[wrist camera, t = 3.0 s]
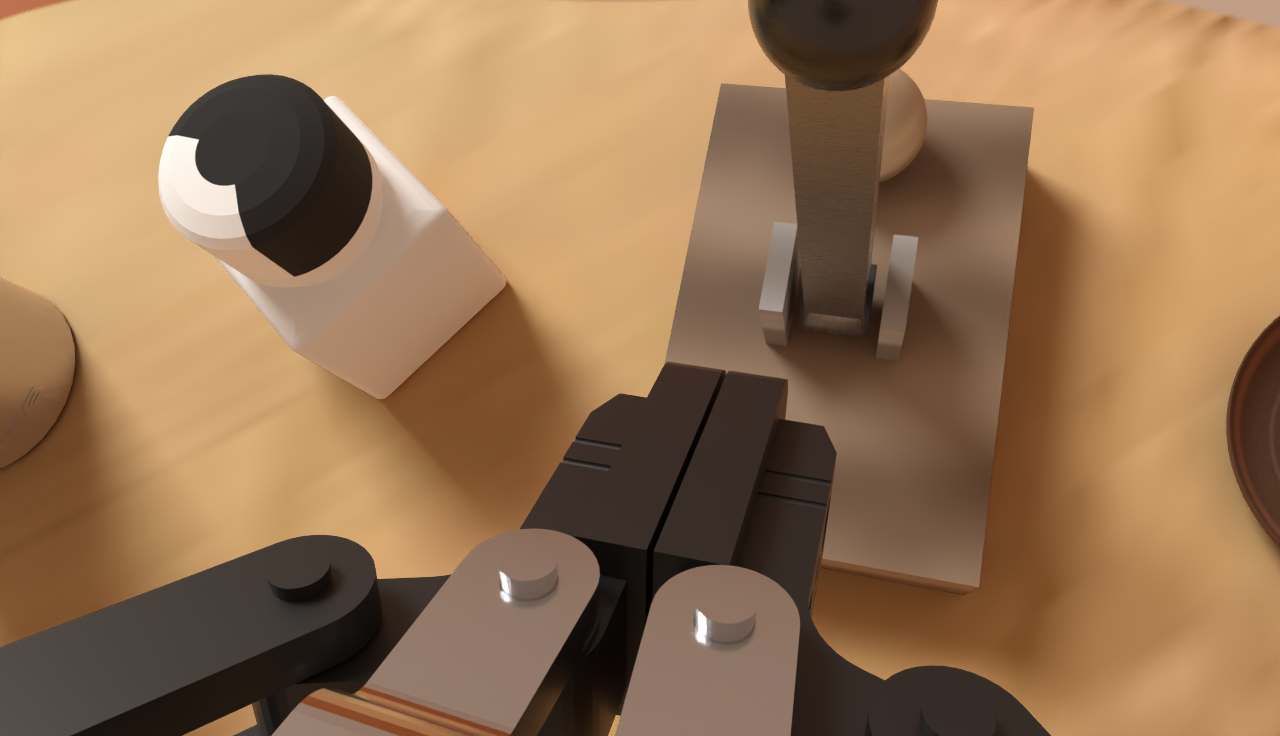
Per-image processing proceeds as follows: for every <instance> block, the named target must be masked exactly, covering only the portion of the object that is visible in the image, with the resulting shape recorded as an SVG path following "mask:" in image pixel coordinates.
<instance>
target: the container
mask: <svg viewBox="0 0 1280 736" xmlns="http://www.w3.org/2000/svg"><path fill="white" fill-rule="evenodd" d="M159 194H160V200H161V203H162V206H163V209H164V211H165V213H166V215H167V217H168V219H169V221H170V222H171V223H172V225H173V226H174V227H175V228H176V229H177V230H178V231H179V232H180V233H181V234H182V235H183V236H185V237H186V238H188V239H189V240H191V241H192V242H194V243H195V244H197V245H198V246H200V247H201V248H203V249H204V250H206V251H208V252H209V253H211V254H212V255H214V256H215V258H216V259H217V260H218V261H219V262H220V264H221V265H222V266H223V267H224V269H225V270H226V271H227V272H228V273H229V275H230V276H231V277H232V278H233V279H234V281H235V282H236V283H237V284H238V285H239V287H240V288H241V289H242V290H243V291H244V293H245V294H246V295H247V296H248V297H249V299H250V300H251V301H252V302H253V304H254V305H255V306H256V307H257V308H258V310H259V311H260V312H261V313H262V314H263V316H264V317H265V318H266V319H267V320H268V322H269V323H270V324H271V325H272V326H273V328H274V329H275V330H276V331H277V333H278V334H279V335H280V336H281V337H282V339H283V340H284V341H285V342H286V343H287V345H288V346H289V347H290V348H291V349H292V350H293V351H294V352H296V353H298V354H299V355H301V356H303V357H305V358H306V359H308V360H310V361H312V362H313V363H315V364H317V365H319V366H321V367H322V368H324V369H326V370H328V371H329V372H331V373H333V374H335V375H336V376H338V377H340V378H342V379H343V380H345V381H347V382H349V383H350V384H352V385H354V386H356V387H357V388H359V389H361V390H363V391H364V392H366V393H368V394H370V395H371V396H373V397H375V398H377V399H385V398H386V397H388V396H389V395H390V394H391V393H392V392H393V391H394V390H395V389H396V388H397V387H399V386H400V385H401V384H402V383H403V382H404V381H405V380H406V379H407V378H408V377H409V376H410V375H411V374H412V373H414V372H415V371H416V370H417V369H418V368H419V367H420V366H421V365H422V364H423V363H424V362H425V361H426V360H427V359H429V358H430V357H431V356H432V355H433V354H434V353H435V352H436V351H437V350H438V349H439V348H440V347H441V346H442V345H444V344H445V343H446V342H447V341H448V340H449V339H450V338H451V337H452V336H453V335H454V334H455V333H456V332H457V331H459V330H460V329H461V328H462V327H463V326H464V325H465V324H466V323H467V322H468V321H469V320H470V319H471V318H472V317H474V316H475V315H476V314H477V313H478V312H479V311H480V310H481V309H482V308H483V307H484V306H485V305H486V304H487V303H489V302H490V301H491V300H492V299H493V298H494V297H495V296H496V295H497V294H498V293H499V292H500V291H501V290H502V289H504V287H505V286H506V278H505V276H504V275H503V273H502V272H501V271H500V270H499V269H498V268H497V266H496V265H495V264H494V263H493V262H492V261H491V259H490V258H489V257H488V256H487V255H486V254H485V253H484V251H483V250H482V249H481V248H480V247H479V246H478V244H477V243H476V242H475V241H474V240H473V239H472V237H471V236H470V235H469V234H468V233H467V232H466V230H465V229H464V228H463V227H462V226H461V225H460V223H459V222H458V221H457V220H456V219H455V218H454V216H453V215H452V214H451V213H450V212H449V211H448V209H447V208H446V207H445V206H444V205H443V204H442V203H441V202H440V201H439V200H438V199H437V198H436V197H435V196H434V195H433V194H432V193H431V192H430V191H429V190H428V189H427V188H426V187H425V186H424V185H423V184H422V183H421V182H420V180H419V179H418V178H417V177H416V176H415V175H414V174H413V173H412V172H411V171H410V170H409V169H408V168H407V167H406V166H405V165H404V164H403V163H402V162H401V161H400V160H399V159H398V158H397V157H396V156H395V155H394V154H393V153H392V152H391V151H390V150H389V149H388V148H387V147H386V146H385V144H384V143H383V142H382V141H381V140H380V139H379V138H378V137H377V136H376V135H375V134H374V133H373V132H372V131H371V130H370V129H369V128H368V127H367V126H366V125H365V124H364V123H363V122H362V121H361V120H360V119H359V118H358V117H357V116H356V115H355V114H354V113H353V112H352V111H351V110H350V109H349V107H348V106H347V105H346V104H345V103H344V102H343V101H342V100H341V99H339V98H337V97H335V96H330V97H328V98H326V99H325V100H323V99H322V98H321V97H320V96H319V95H318V94H317V93H316V92H315V91H314V90H313V89H311V88H310V87H308V86H307V85H305V84H304V83H301V82H299V81H297V80H295V79H292V78H288V77H285V76H279V75H255V76H248V77H243V78H239V79H235V80H232V81H229V82H227V83H224V84H222V85H219V86H218V87H216V88H214V89H212V90H210V91H209V92H207V93H206V94H204V95H203V96H202V97H200V98H199V99H198V100H197V101H195V102H194V103H193V104H192V105H191V106H190V107H189V108H188V109H187V110H186V111H185V112H184V113H183V115H182V116H181V117H180V118H179V120H178V121H177V123H176V124H175V125H174V127H173V129H172V131H171V132H170V134H169V136H168V138H167V141H166V143H165V145H164V148H163V152H162V155H161V159H160V167H159Z"/></svg>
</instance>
